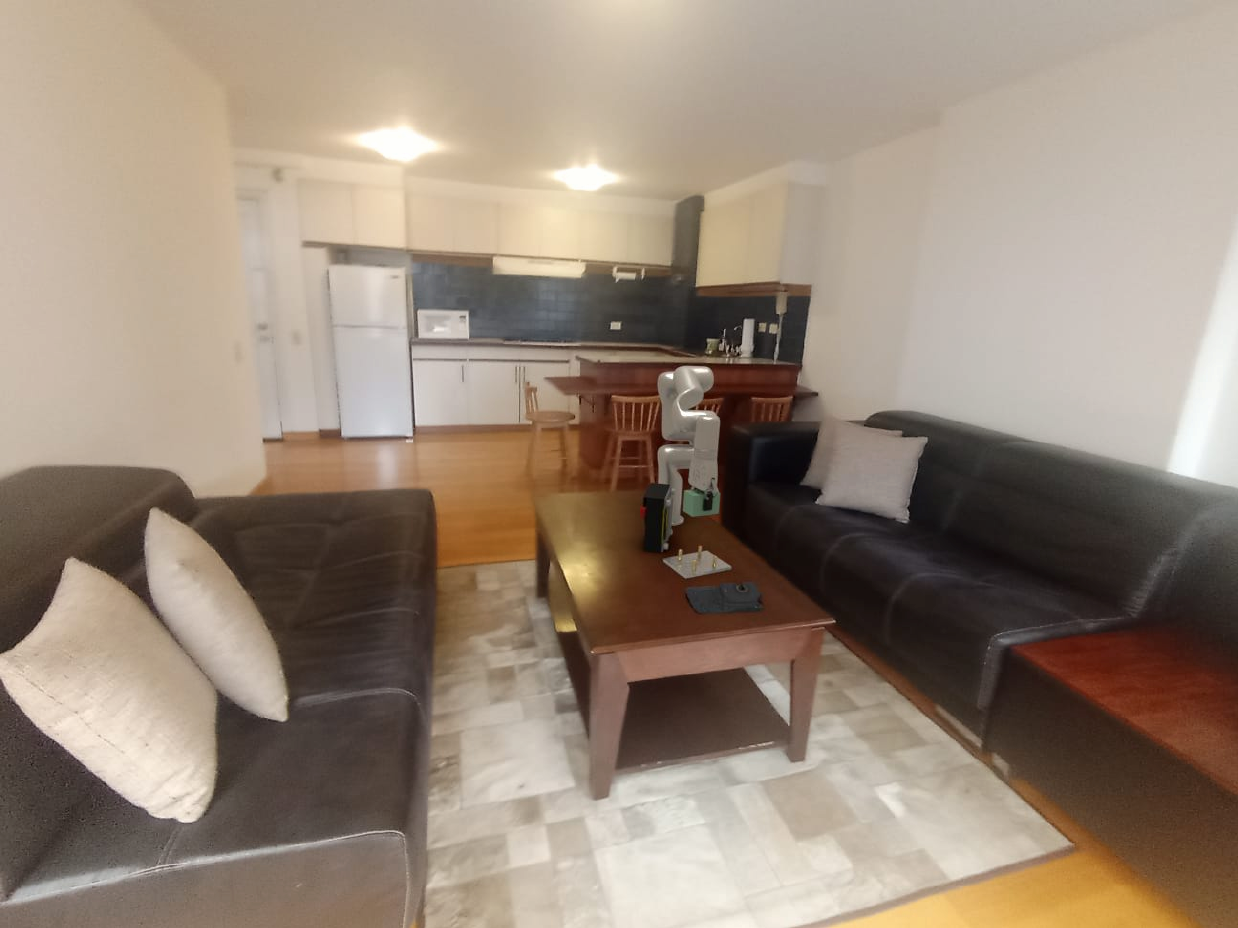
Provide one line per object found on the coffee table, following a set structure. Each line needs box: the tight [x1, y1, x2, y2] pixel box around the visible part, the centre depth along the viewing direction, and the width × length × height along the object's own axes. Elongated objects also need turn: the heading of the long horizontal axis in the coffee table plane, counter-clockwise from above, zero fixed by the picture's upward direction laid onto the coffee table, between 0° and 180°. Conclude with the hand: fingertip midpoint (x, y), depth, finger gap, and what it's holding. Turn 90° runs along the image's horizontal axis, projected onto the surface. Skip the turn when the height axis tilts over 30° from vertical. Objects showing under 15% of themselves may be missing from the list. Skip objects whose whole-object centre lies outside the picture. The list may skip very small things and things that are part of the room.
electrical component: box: [640, 482, 675, 554], centre depth 209 cm, size 18×10×20 cm, turn 168°
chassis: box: [662, 545, 732, 579], centre depth 193 cm, size 14×18×4 cm
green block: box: [682, 488, 721, 518], centre depth 188 cm, size 6×10×8 cm, turn 114°
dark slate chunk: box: [685, 580, 765, 615], centre depth 171 cm, size 15×22×5 cm
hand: (701, 506), depth 188 cm, fingers closed on green block, 6 cm apart
